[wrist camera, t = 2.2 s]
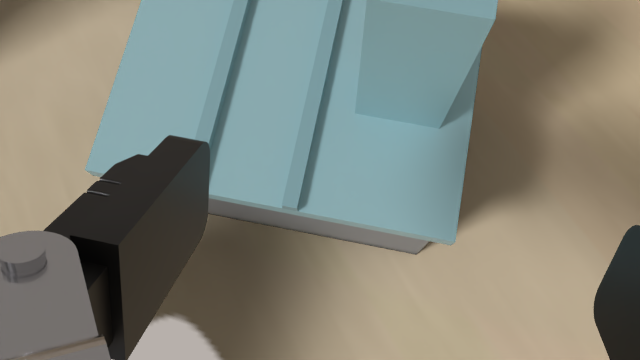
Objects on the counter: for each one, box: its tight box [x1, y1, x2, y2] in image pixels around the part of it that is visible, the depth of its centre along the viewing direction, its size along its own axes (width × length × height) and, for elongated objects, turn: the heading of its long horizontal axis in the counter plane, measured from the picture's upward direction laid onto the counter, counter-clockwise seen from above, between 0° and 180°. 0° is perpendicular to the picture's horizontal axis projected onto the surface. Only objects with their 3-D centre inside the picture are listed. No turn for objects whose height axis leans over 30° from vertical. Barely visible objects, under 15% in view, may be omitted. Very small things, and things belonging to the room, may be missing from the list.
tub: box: [208, 198, 429, 254], centre depth 27 cm, size 14×10×6 cm
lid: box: [85, 0, 498, 245], centre depth 20 cm, size 15×11×9 cm
